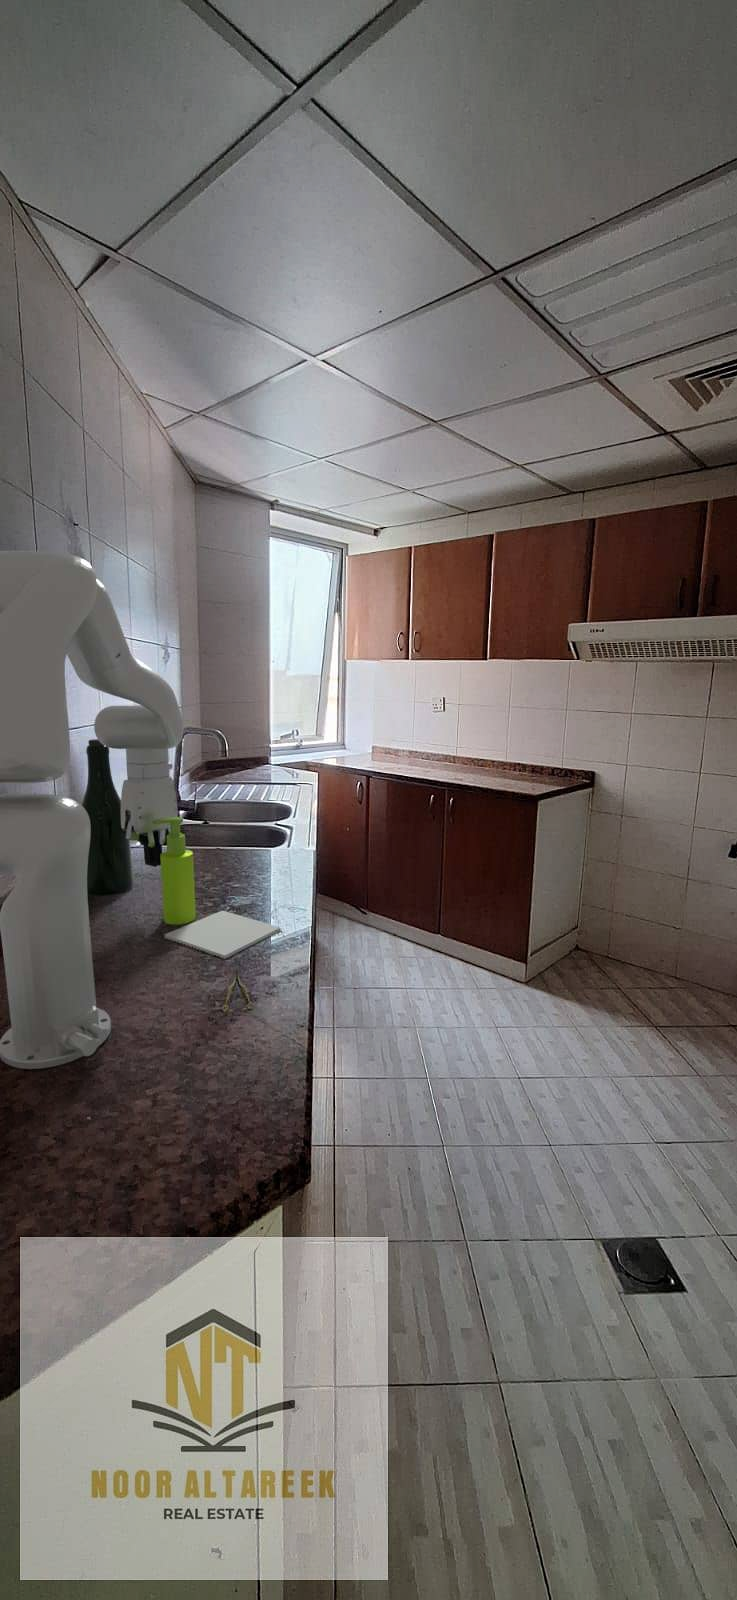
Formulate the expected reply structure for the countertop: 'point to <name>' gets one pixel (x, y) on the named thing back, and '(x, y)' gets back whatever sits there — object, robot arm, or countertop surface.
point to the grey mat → (223, 933)
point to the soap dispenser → (177, 876)
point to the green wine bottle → (105, 828)
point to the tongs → (236, 975)
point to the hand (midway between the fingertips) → (153, 864)
